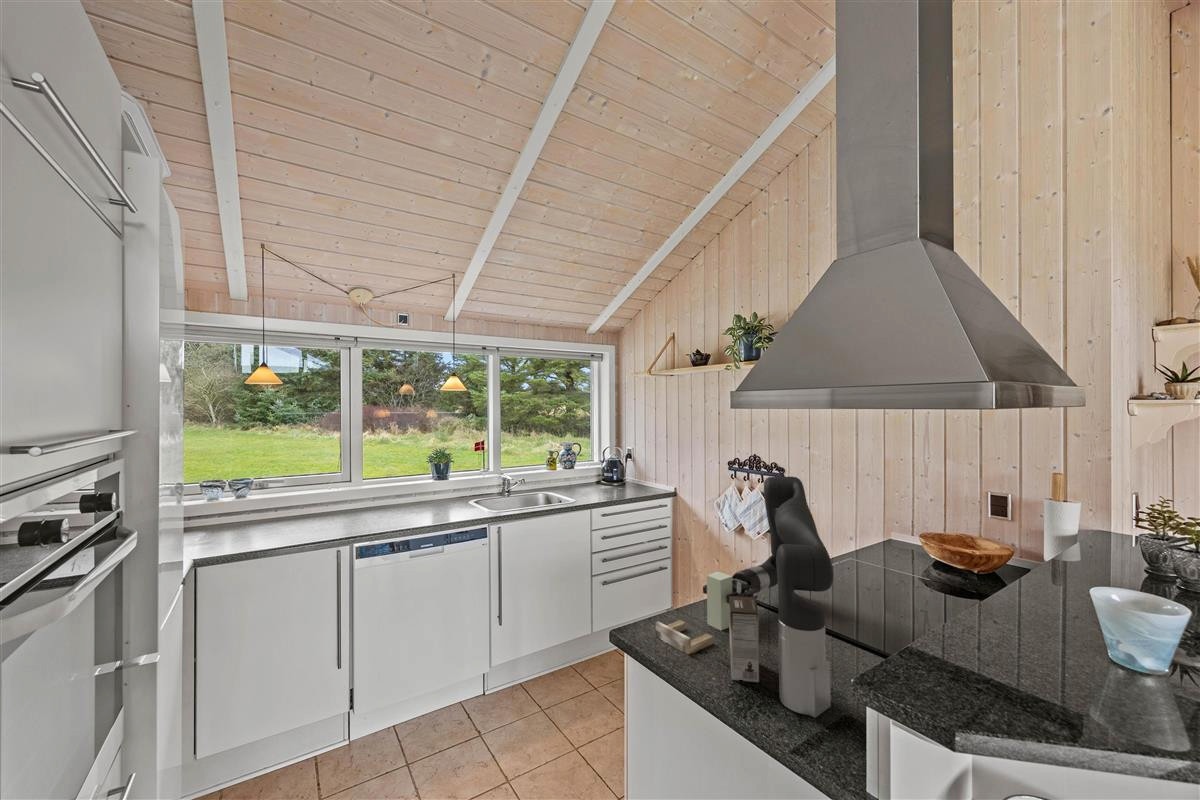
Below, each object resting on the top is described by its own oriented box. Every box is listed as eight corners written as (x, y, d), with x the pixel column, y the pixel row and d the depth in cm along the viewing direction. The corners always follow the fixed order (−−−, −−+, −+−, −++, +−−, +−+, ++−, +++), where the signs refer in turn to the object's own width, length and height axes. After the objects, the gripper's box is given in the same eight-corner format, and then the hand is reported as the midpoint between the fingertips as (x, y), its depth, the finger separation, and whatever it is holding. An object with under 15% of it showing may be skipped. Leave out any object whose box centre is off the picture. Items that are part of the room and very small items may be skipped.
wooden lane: (712, 643, 129) (712, 628, 129) (688, 655, 124) (688, 639, 124) (680, 627, 139) (679, 612, 139) (655, 636, 134) (655, 622, 134)
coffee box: (729, 659, 122) (728, 594, 122) (756, 661, 120) (755, 596, 120) (731, 680, 113) (730, 610, 113) (760, 683, 111) (759, 612, 111)
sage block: (732, 625, 140) (732, 576, 140) (721, 630, 137) (720, 580, 137) (719, 619, 144) (718, 571, 144) (707, 624, 141) (706, 575, 141)
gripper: (731, 562, 154) (696, 574, 145) (771, 575, 143) (735, 589, 133) (732, 586, 154) (696, 599, 145) (771, 601, 143) (735, 617, 133)
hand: (715, 594), depth 139 cm, fingers open, 8 cm apart
